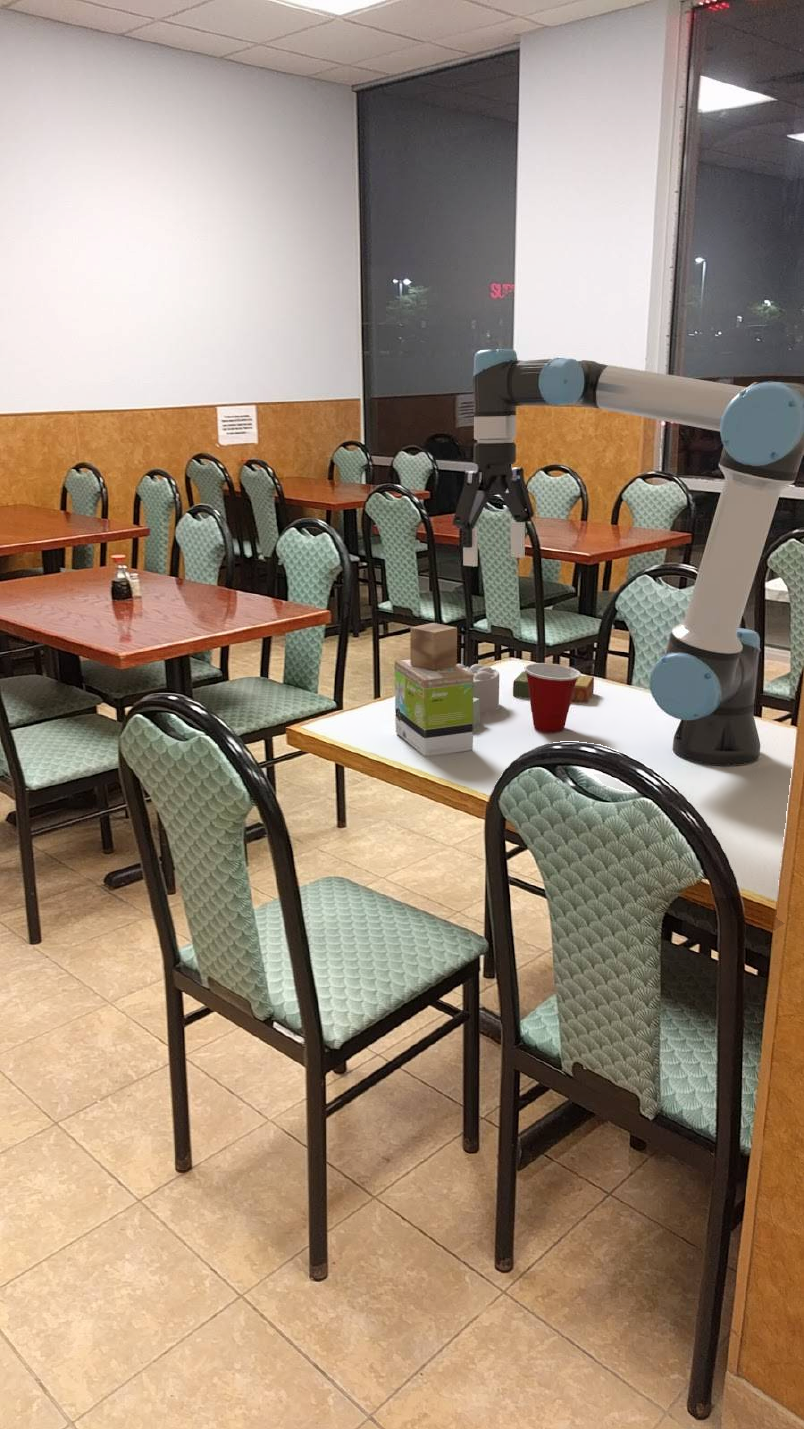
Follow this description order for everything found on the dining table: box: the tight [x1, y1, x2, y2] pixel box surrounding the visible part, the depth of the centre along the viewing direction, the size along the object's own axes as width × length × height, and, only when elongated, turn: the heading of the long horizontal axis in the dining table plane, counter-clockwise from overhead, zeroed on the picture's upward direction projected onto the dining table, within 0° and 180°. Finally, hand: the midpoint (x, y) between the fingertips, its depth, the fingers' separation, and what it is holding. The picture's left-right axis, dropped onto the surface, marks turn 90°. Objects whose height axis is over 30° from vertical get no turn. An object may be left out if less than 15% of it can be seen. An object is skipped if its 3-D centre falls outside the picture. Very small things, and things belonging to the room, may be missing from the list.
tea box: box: [394, 659, 474, 758], centre depth 199 cm, size 15×10×15 cm, turn 22°
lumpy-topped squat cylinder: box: [457, 663, 500, 716], centre depth 222 cm, size 10×13×9 cm
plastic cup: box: [523, 662, 582, 734], centre depth 208 cm, size 11×11×12 cm
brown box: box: [409, 622, 458, 671], centre depth 197 cm, size 6×6×7 cm
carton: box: [512, 670, 595, 704], centre depth 232 cm, size 8×16×4 cm, turn 71°
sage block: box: [473, 698, 480, 727], centre depth 212 cm, size 5×5×5 cm
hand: (494, 561), depth 197 cm, fingers open, 13 cm apart
